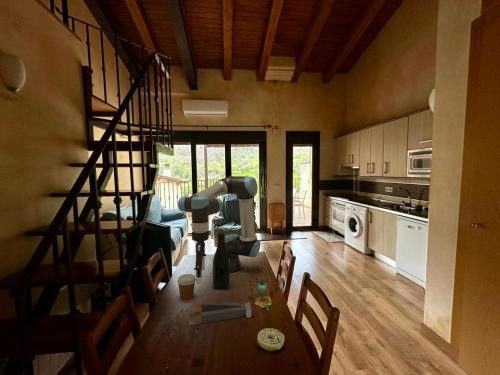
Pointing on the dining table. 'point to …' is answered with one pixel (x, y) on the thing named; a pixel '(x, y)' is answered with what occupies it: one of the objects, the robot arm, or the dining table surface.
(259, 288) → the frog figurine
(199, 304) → the tong arm far
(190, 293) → the disposable coffee cup
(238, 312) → the tong arm near
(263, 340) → the decorated donut
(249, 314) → the tong hinge cap
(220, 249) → the beer bottle
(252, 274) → the dining table surface
